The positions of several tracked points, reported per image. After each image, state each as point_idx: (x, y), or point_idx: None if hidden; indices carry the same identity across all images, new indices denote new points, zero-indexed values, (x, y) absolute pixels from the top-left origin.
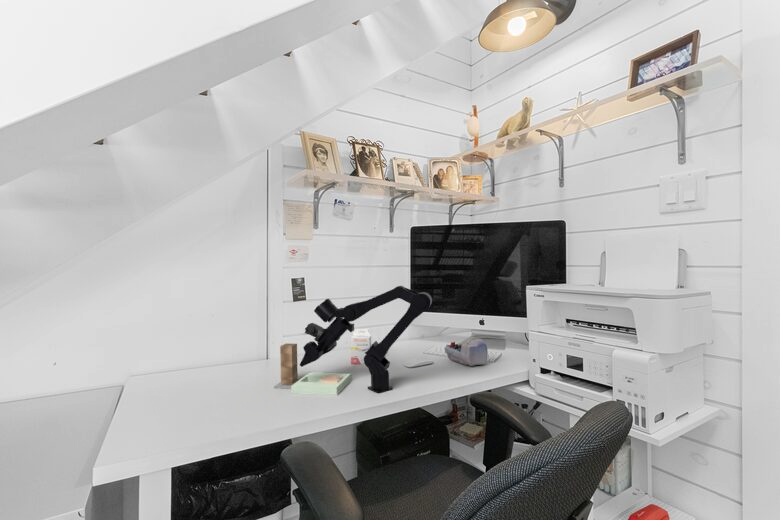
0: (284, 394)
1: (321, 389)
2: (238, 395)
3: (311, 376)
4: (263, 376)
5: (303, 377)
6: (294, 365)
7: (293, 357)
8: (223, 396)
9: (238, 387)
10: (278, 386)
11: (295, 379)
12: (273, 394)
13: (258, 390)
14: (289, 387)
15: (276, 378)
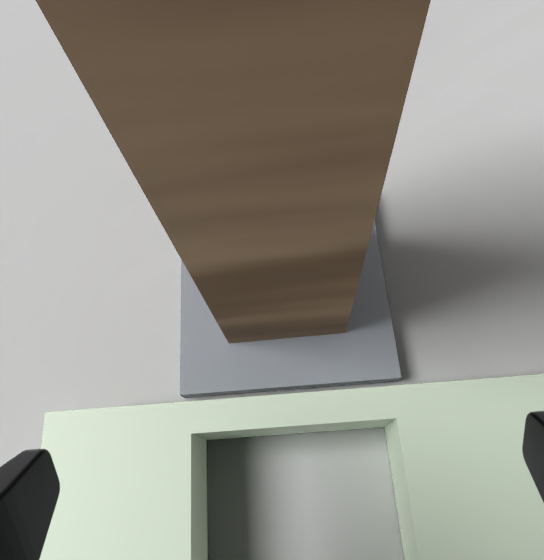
0: (47, 377)
1: None
2: (26, 88)
3: (405, 474)
4: (430, 4)
5: (335, 398)
6: (265, 265)
7: (218, 200)
8: (10, 28)
9: None
10: None
11: (296, 325)
12: (47, 289)
13: None
14: (181, 341)
15: (418, 103)
